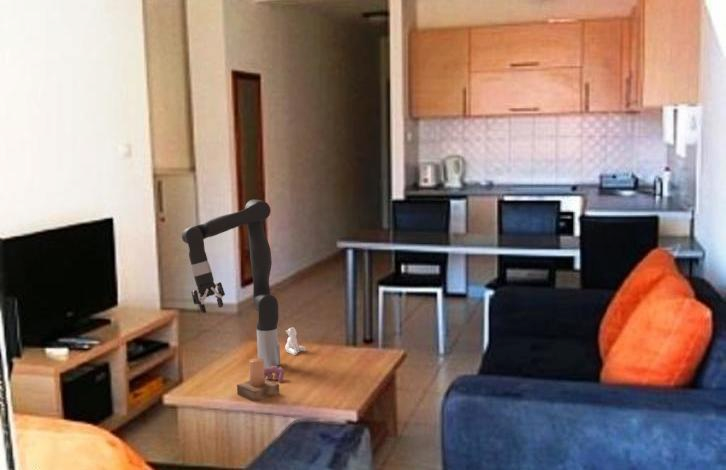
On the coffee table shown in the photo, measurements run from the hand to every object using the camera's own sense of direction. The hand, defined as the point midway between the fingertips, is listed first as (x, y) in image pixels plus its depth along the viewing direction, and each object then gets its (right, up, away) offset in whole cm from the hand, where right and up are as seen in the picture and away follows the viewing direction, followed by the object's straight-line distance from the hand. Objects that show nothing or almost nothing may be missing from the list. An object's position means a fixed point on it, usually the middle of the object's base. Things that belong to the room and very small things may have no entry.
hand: (212, 310), depth 317 cm
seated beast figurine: (+30, -25, +44) cm, 58 cm away
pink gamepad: (+25, -30, +3) cm, 39 cm away
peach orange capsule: (+21, -28, -15) cm, 38 cm away
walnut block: (+21, -32, -14) cm, 41 cm away
